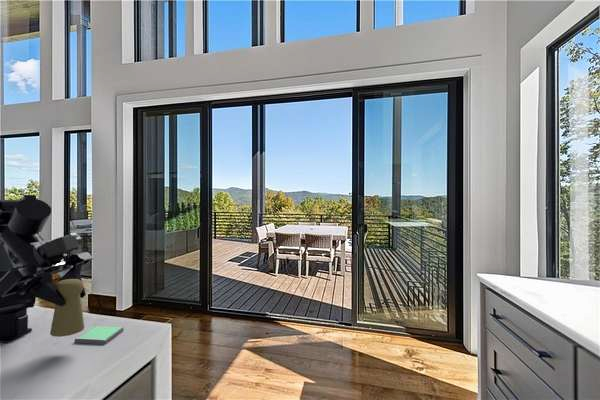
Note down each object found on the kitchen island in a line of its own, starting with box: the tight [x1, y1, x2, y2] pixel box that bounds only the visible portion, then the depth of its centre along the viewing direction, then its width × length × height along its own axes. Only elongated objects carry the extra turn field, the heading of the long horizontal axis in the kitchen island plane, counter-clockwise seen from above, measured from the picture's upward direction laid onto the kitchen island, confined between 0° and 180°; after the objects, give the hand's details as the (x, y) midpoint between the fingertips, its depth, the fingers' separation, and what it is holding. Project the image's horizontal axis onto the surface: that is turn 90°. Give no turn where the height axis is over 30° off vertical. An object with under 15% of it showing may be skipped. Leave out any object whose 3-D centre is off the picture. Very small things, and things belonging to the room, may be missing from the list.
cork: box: [49, 279, 85, 338], centre depth 69 cm, size 6×6×11 cm
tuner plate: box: [74, 325, 124, 345], centre depth 76 cm, size 7×7×1 cm
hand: (74, 300), depth 68 cm, fingers closed on cork, 5 cm apart
